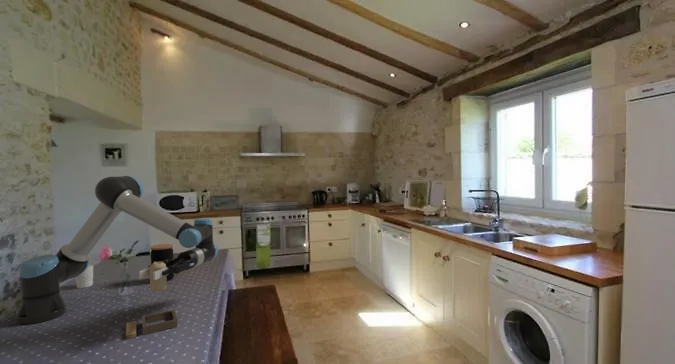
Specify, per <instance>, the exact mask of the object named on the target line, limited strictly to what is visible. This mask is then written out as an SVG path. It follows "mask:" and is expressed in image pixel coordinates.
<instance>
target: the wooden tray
mask: <svg viewBox="0 0 675 364" xmlns="http://www.w3.org/2000/svg"><path fill="white" fill-rule="evenodd" d="M168 319H169V320H168ZM170 319H171V320H170ZM162 320H163V321H162ZM164 320H165V321H164ZM166 320H167V321H166ZM160 321H162V322H160ZM153 322H157V323H153ZM141 323H142V326H141V327H142V335H143V334H144V335H148V334H153V333H155V332H160V331H164V330H169V329H173V328H177V327H178V319H177V314H176V311H175V309H172V310H167V311H162V312H157V313H151V314H148V315H147V314H146V315H143V316H141ZM149 323H152V324H149ZM146 324H148V325H146ZM147 333H148V334H147Z"/></svg>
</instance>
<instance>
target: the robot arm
mask: <svg viewBox="0 0 675 364" xmlns="http://www.w3.org/2000/svg"><path fill="white" fill-rule="evenodd" d="M94 194H95V196H96V199H97V200H98V201H99V202H100V203H99V204H98V205H97V206H96V208H95V209H94V211H93V212H91V214H90V216H89V217H88V218H87V220H86V221H85V222H84V223H83V225H82V226H81V228H80V229H79V230H78V231H77V233H75V236H74V237H73V238H72V239H71V241H70V242H69V243H66V244H64V245H62V246H61V247H60V248H59V250H58V252H56V254H45V255H39V256H36V257H32V258H30V259H26V260H24V261H23V262H22V263H21V265H20V267H19V278H20V279H19V281H20V293H21V295H20V296H21V302H20V306H19V308H18V312H17V314H16V323H17V324H20V325H31V324H36V323H37V324H38V323H42V322H47V321H50V320H53V319H57V318H59V317H61V316H62V315H64V314H66V312H67V305H66V303H65V300H64V299H63V297H62V295H61V289H60V288H61V287H60V284H61V283H64V282H66V281H68V280H70V279H75V277H77V276H78V275H80V274H81V273H83V272H84V271H85V270H86V269H87V267H88V265H90V261H89V260H90V259H91V254H90V253H91V251H92V250H93V249H94V247H95V246H96V245H97V244H98V242H99V241H100V240H101V238H102V237H103V236H104V234H105V233H106V232H107V230H108V229H109V227H111V226H112V223H113V222H114V221H115V220H116V219H117V217H119V215H120V214H121V212H123V213H126V214H127V215H128V216H131V217H133V218H135V219H138V220H139V221H141V222H143V223H144V224H147V225H148V226H151V227H153V228H154V229H156V230H158V231H160V232H162V233H164V234H166V235H167V236H170V237H172V238H173V239H175V240H178V242H179V244H180V245H181V247H183V248H187V249H188V250H186V251H185V250H184V251H183V252H182V251H181V252H180V253H179V254H178V255H177V257H175V258H174V257H173V259H172V260H169V261H168V259H166V260H164V261H162V262H163V263H164V264H165V265H166V268H163V269H161V270H158V271H155V272H153V280H157V279H159V278H161V277H164V276H166V275H169V274H173V273H174V275H179V274H180V273H182V272H184V271H188V270H191V269H192V268H197V266H200V265H202V264H205V263H207V262H210V261H212V260H213V259H215V258H216V257H217V256H218V254H219V247H218V246H217V244H216V243H214V233H213V231H214V230H213V229H214V228H213V227H214V225H213V219H212V218H210V217H202V218H201V217H200V218H196V219H194V221H193V225H192V224H190V223H188V222H186V221H184V220H183V219H181V218H179V217H176V216H175V215H174V214H171V213H169V212H168V211H165V210H164V209H162V208H159V207H158V206H157V205H154V204H152V203H150V202H148V201H146V200H144V199H143V198H142V196H143V194H144V187H143V184H142V182H141V181H140V179H138V178H136V177H134V176H129V175H122V176H106V177H104V178H103V179H101V180H99V181H98V182H97V183H96V185H95V189H94ZM150 266H151V264H150V265H148V266H147V268H145V269H141V270H140V271H138V280H142V279H145V278H147V277H150V275H149V267H150Z"/></svg>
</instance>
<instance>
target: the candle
mask: <svg viewBox="0 0 675 364" xmlns="http://www.w3.org/2000/svg"><path fill="white" fill-rule="evenodd" d="M150 265H151V264H150ZM163 268H166V265H165V264H164V263H163V262H162V261H159V262H154V263H153V264H152V265H151V266H150V267H149V275H150V276H149V290H150V291H151V292H159V291H164V290H166V289H167V288H168V281H167V277H166V276H164V277H161V278H159V279H157V280H153V272H155V271H158V270H161V269H163Z"/></svg>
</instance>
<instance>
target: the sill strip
mask: <svg viewBox="0 0 675 364" xmlns="http://www.w3.org/2000/svg"><path fill="white" fill-rule="evenodd" d="M125 327H126V329H125V339H126V340H128V339H132V338H133V339H134V338H136V337H137V321H136V320H133V321H128V322H126V325H125Z"/></svg>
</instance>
